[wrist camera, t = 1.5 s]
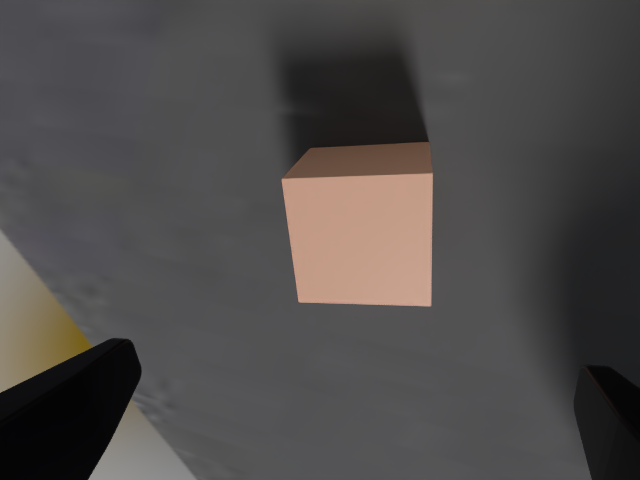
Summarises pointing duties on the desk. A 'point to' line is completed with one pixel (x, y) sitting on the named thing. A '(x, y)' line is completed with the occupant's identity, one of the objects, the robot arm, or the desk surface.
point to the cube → (362, 224)
